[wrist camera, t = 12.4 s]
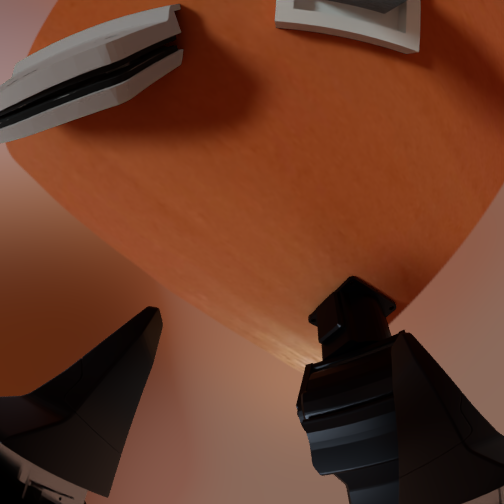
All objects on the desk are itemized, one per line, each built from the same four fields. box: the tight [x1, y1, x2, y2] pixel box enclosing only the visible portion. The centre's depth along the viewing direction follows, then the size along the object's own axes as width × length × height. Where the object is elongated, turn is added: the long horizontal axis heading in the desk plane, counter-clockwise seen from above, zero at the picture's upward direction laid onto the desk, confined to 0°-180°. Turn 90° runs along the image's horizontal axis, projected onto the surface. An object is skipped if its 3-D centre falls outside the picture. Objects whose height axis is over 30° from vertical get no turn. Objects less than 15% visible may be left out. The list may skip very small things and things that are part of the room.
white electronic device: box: [0, 4, 183, 143], centre depth 13 cm, size 17×5×10 cm, turn 89°
